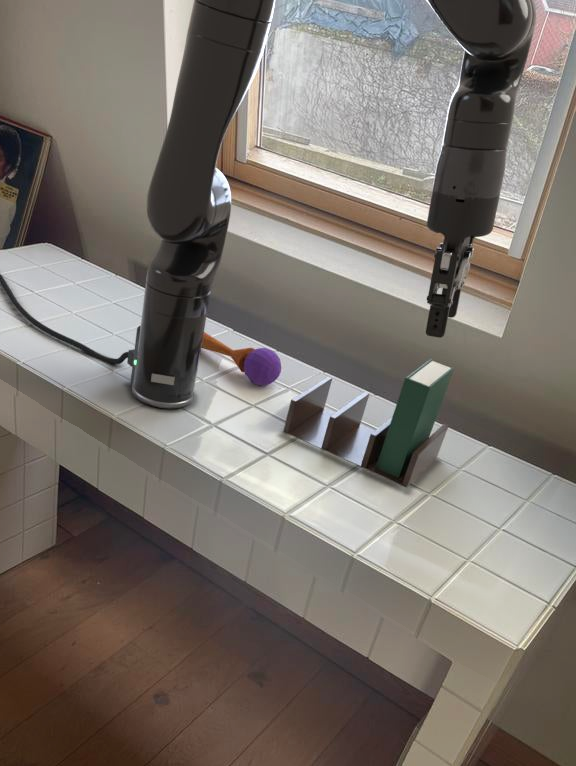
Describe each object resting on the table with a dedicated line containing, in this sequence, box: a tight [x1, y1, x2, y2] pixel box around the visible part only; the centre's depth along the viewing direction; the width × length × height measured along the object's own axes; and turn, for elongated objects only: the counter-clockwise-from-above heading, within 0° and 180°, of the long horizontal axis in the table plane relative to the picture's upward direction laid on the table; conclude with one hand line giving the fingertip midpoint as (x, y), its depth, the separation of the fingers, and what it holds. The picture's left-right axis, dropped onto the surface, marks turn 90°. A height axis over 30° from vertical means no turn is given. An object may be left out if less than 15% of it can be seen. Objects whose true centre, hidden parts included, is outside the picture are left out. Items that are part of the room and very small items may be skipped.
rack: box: [283, 376, 449, 488], centre depth 119 cm, size 20×12×6 cm, turn 55°
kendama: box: [201, 331, 282, 387], centre depth 136 cm, size 6×6×20 cm
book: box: [376, 358, 455, 478], centre depth 114 cm, size 4×10×14 cm, turn 145°
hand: (440, 325), depth 103 cm, fingers open, 8 cm apart
